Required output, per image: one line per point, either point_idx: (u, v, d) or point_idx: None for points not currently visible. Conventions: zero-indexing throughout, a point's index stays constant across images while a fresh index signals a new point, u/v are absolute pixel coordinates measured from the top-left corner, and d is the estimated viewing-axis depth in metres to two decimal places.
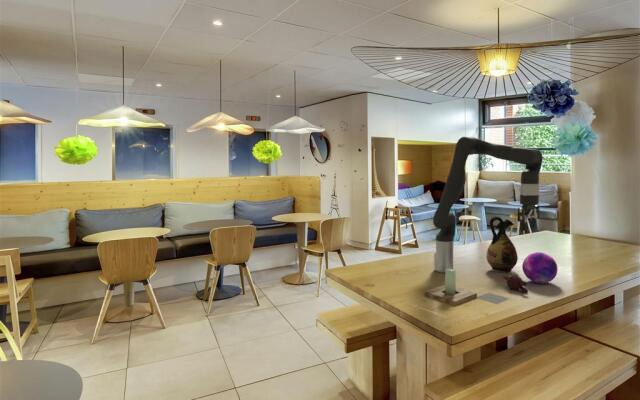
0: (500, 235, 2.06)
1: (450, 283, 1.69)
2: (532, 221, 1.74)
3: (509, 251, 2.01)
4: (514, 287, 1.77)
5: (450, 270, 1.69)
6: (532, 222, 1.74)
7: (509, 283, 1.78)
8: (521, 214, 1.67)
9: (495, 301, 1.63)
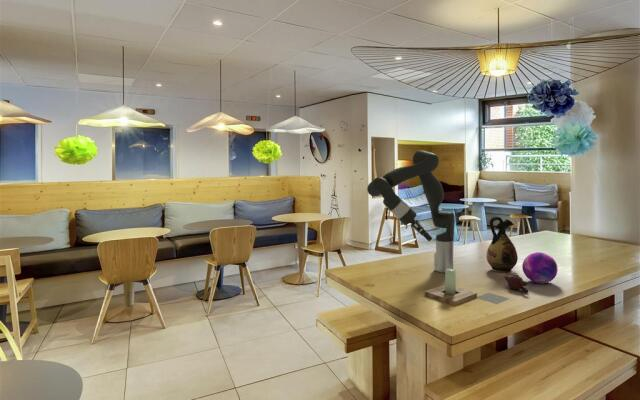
0: (500, 235, 2.06)
1: (450, 283, 1.69)
2: None
3: (509, 251, 2.01)
4: (515, 287, 1.76)
5: (450, 270, 1.69)
6: None
7: (510, 283, 1.78)
8: None
9: (495, 301, 1.63)
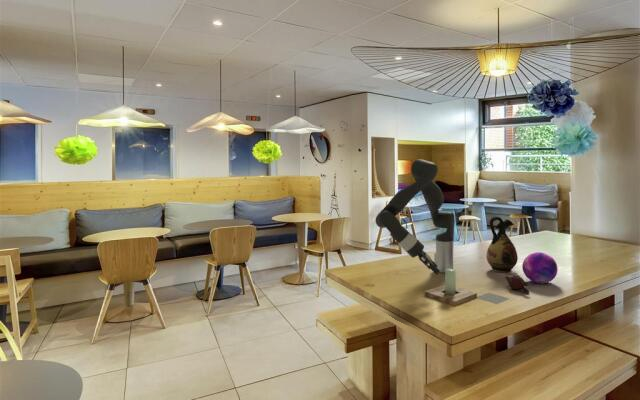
0: (500, 235, 2.06)
1: (450, 283, 1.69)
2: None
3: (509, 251, 2.01)
4: (516, 287, 1.76)
5: (450, 270, 1.69)
6: None
7: (511, 283, 1.78)
8: None
9: (495, 301, 1.63)
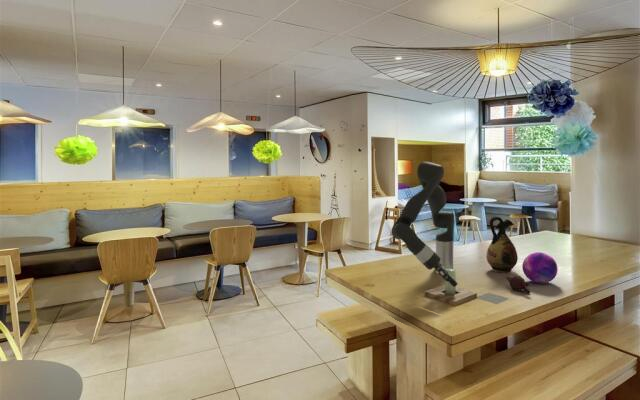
0: (500, 235, 2.06)
1: None
2: None
3: (509, 251, 2.01)
4: (516, 288, 1.76)
5: (450, 270, 1.69)
6: None
7: (511, 284, 1.77)
8: None
9: (495, 301, 1.63)
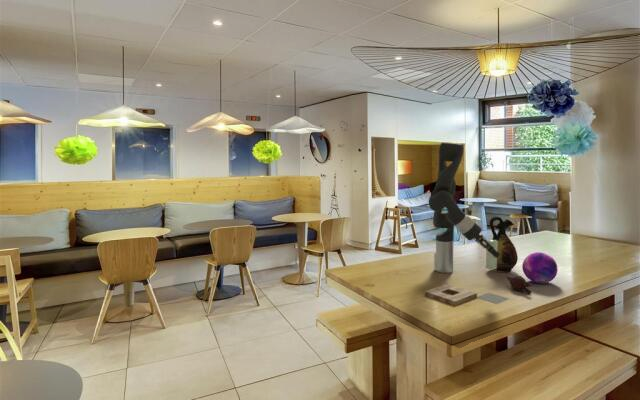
0: (500, 235, 2.06)
1: (491, 254, 1.64)
2: None
3: (509, 251, 2.01)
4: (517, 288, 1.76)
5: (491, 241, 1.64)
6: None
7: (512, 284, 1.77)
8: None
9: (495, 301, 1.63)
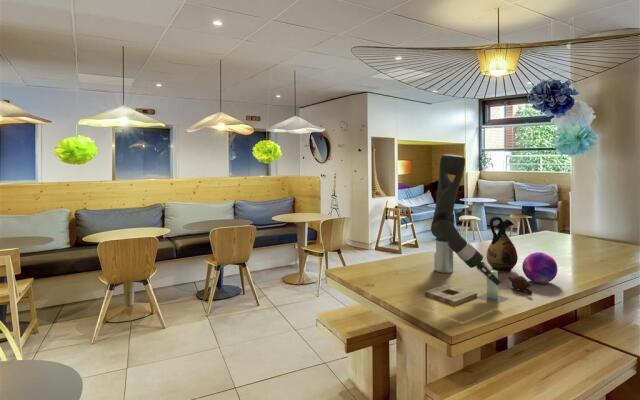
0: (500, 235, 2.06)
1: (492, 284, 1.65)
2: None
3: (509, 251, 2.01)
4: (518, 288, 1.75)
5: (492, 271, 1.66)
6: None
7: (514, 284, 1.77)
8: None
9: (495, 301, 1.63)
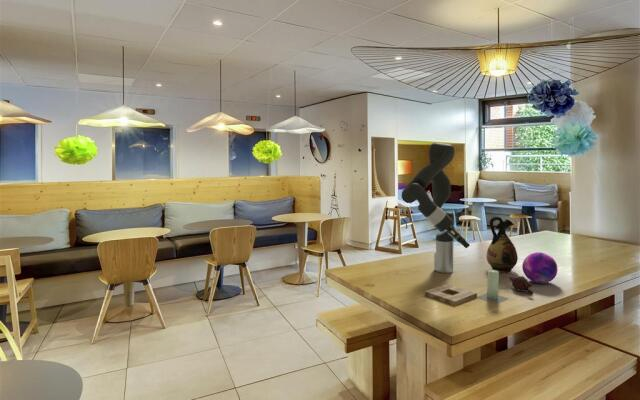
0: (500, 235, 2.06)
1: (492, 285, 1.65)
2: None
3: (509, 251, 2.01)
4: (519, 288, 1.75)
5: (493, 271, 1.65)
6: None
7: (514, 284, 1.76)
8: None
9: (495, 301, 1.63)
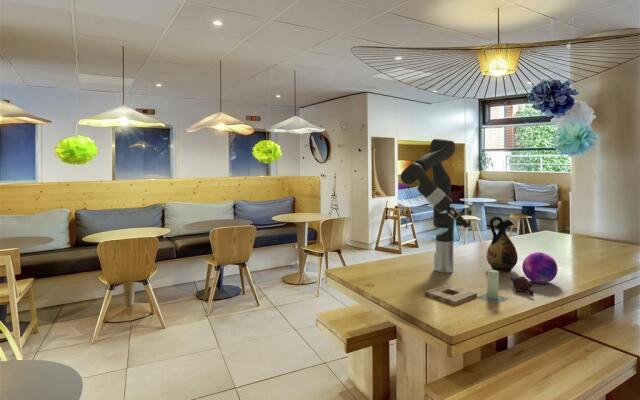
0: (500, 235, 2.06)
1: (493, 285, 1.65)
2: None
3: (509, 251, 2.01)
4: (520, 288, 1.75)
5: (493, 271, 1.65)
6: None
7: (515, 284, 1.76)
8: None
9: (495, 301, 1.63)
